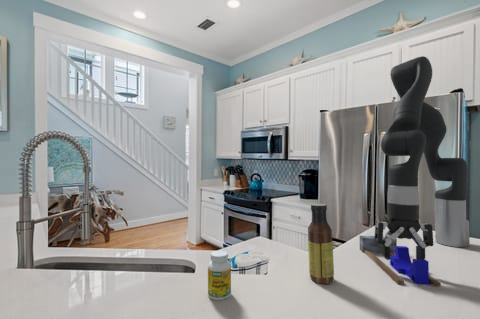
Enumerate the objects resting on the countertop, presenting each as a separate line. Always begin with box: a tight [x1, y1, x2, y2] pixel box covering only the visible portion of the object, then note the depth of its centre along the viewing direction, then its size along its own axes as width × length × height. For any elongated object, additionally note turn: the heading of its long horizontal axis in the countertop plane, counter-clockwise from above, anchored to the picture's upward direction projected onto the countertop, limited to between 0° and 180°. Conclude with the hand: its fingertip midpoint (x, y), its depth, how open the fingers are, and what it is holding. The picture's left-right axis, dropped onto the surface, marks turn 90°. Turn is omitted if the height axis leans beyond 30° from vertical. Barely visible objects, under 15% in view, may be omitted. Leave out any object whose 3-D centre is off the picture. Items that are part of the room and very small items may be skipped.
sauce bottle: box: [307, 202, 335, 285], centre depth 66 cm, size 6×6×20 cm
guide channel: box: [359, 235, 442, 288], centre depth 76 cm, size 11×26×5 cm, turn 173°
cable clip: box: [389, 245, 430, 286], centre depth 69 cm, size 12×4×6 cm, turn 169°
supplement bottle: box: [207, 250, 232, 301], centre depth 58 cm, size 5×5×10 cm
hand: (403, 259), depth 70 cm, fingers open, 8 cm apart
